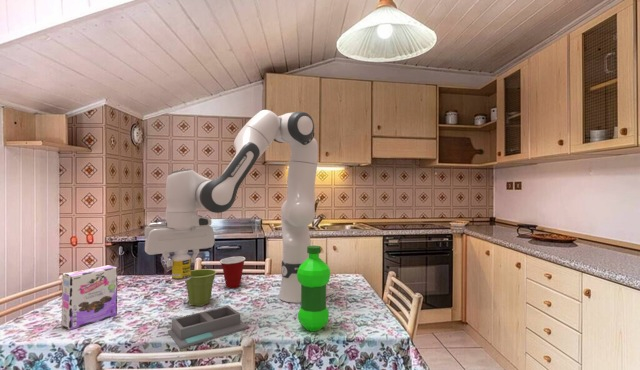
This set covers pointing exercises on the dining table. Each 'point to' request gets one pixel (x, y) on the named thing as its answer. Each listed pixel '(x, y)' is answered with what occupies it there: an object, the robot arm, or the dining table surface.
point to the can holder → (205, 326)
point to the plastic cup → (232, 270)
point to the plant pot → (200, 286)
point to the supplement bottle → (181, 266)
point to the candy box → (89, 296)
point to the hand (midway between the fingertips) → (181, 265)
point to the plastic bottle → (313, 290)
